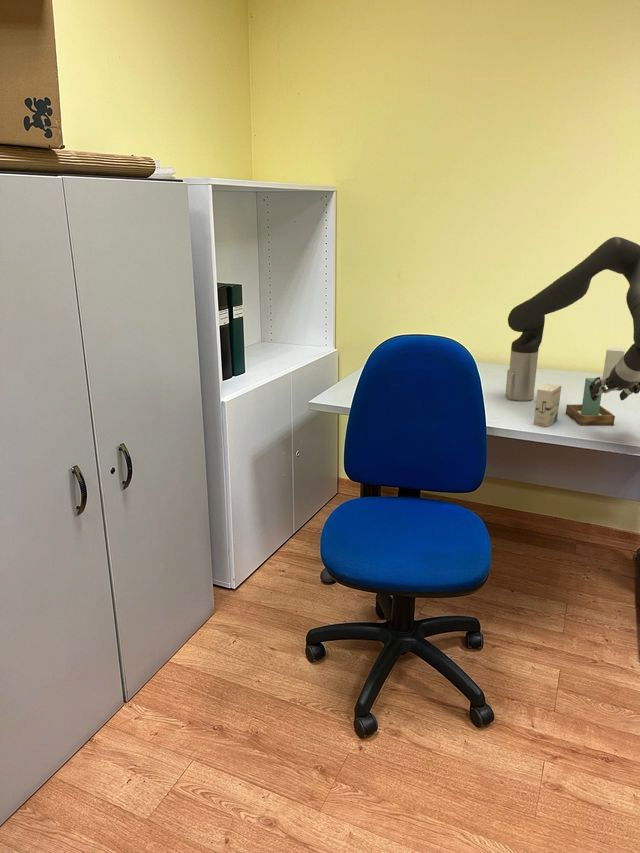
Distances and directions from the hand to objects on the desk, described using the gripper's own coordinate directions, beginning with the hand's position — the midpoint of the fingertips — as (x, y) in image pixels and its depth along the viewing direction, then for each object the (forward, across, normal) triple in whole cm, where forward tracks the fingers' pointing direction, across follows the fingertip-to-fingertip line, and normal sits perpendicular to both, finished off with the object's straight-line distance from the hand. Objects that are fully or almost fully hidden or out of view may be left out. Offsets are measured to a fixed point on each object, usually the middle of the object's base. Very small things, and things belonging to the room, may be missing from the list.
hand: (607, 397), depth 195 cm
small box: (+47, -27, -33) cm, 64 cm away
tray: (+14, 0, 0) cm, 14 cm away
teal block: (+13, 0, -1) cm, 13 cm away
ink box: (+12, +15, +2) cm, 20 cm away
